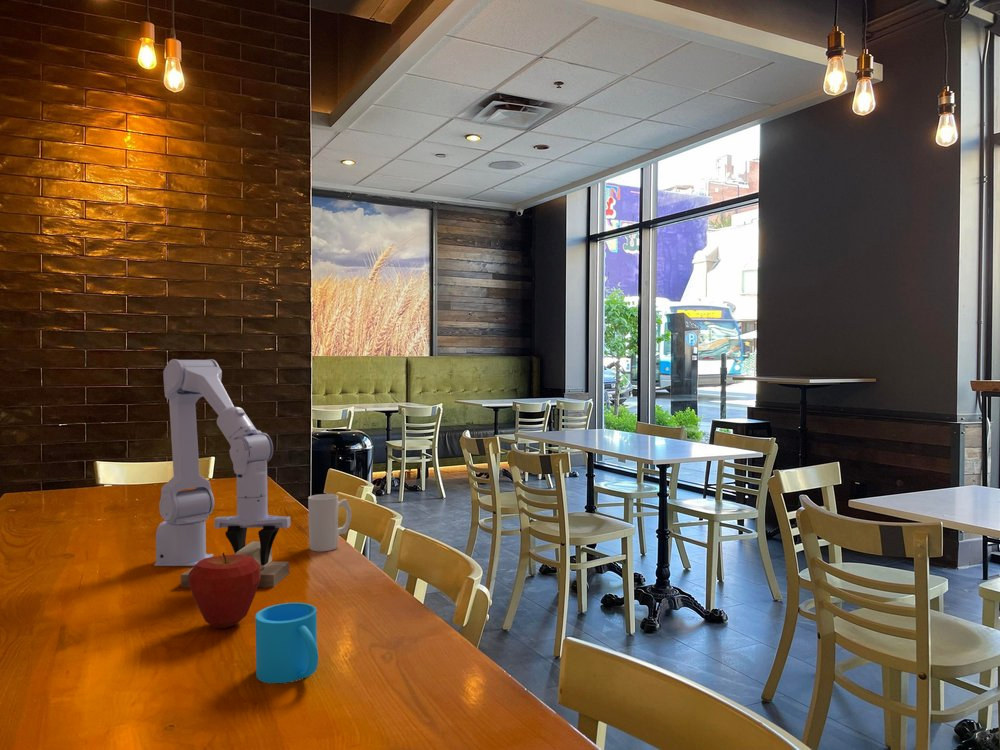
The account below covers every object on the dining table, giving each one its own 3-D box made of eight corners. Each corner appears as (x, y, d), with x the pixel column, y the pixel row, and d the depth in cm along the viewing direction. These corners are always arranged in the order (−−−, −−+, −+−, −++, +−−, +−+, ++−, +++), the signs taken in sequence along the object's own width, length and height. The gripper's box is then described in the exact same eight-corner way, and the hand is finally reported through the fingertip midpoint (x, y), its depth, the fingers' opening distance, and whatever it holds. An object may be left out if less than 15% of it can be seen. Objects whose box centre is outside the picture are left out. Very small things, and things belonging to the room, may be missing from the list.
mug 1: (245, 670, 98) (245, 612, 98) (299, 653, 103) (298, 598, 103) (287, 700, 89) (286, 636, 89) (343, 679, 95) (342, 619, 95)
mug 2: (312, 553, 158) (312, 500, 158) (305, 546, 164) (304, 495, 164) (356, 547, 163) (355, 496, 163) (347, 541, 169) (346, 491, 169)
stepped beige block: (228, 589, 132) (227, 558, 132) (252, 570, 144) (252, 541, 144) (249, 589, 132) (249, 558, 132) (272, 570, 144) (271, 541, 144)
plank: (181, 587, 135) (180, 574, 135) (202, 573, 144) (202, 561, 144) (273, 587, 134) (273, 574, 134) (289, 573, 143) (289, 561, 143)
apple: (217, 643, 107) (216, 565, 107) (175, 630, 113) (173, 555, 113) (275, 620, 116) (274, 548, 116) (233, 609, 122) (232, 540, 122)
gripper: (206, 499, 135) (207, 569, 135) (281, 499, 134) (282, 569, 134) (222, 492, 142) (223, 559, 142) (293, 492, 141) (294, 559, 142)
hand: (253, 564), depth 139 cm, fingers closed on stepped beige block, 4 cm apart
